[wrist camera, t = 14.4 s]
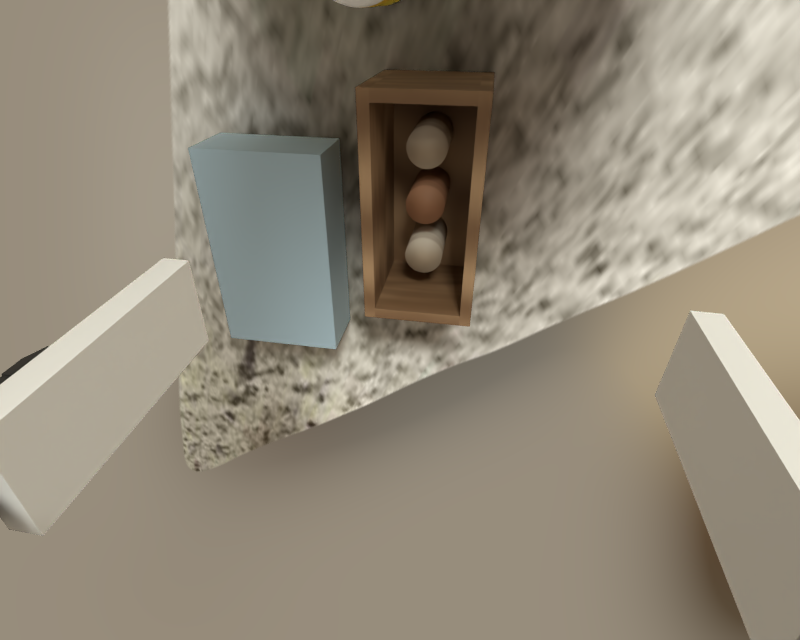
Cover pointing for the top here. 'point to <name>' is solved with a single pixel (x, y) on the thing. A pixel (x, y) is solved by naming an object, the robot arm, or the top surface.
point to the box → (422, 190)
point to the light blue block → (276, 235)
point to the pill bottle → (366, 3)
